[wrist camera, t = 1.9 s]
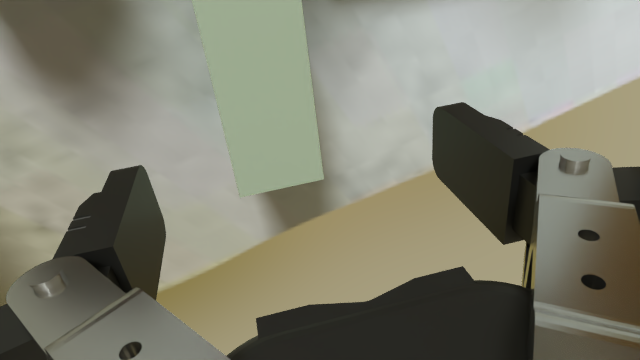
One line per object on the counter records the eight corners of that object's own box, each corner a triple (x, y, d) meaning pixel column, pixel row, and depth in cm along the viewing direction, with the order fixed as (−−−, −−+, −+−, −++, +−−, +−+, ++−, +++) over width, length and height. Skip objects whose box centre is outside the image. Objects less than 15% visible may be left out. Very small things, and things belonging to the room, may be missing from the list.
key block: (230, 127, 28) (239, 197, 20) (194, -28, 23) (188, -16, 15) (291, 115, 28) (324, 179, 20) (267, -38, 24) (297, -31, 16)
